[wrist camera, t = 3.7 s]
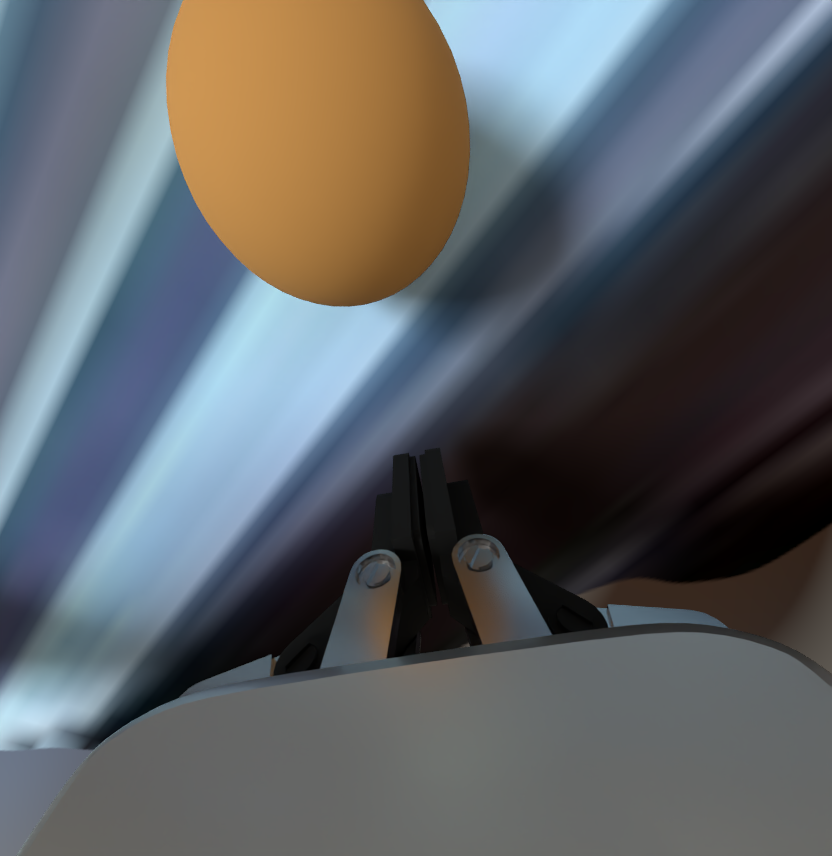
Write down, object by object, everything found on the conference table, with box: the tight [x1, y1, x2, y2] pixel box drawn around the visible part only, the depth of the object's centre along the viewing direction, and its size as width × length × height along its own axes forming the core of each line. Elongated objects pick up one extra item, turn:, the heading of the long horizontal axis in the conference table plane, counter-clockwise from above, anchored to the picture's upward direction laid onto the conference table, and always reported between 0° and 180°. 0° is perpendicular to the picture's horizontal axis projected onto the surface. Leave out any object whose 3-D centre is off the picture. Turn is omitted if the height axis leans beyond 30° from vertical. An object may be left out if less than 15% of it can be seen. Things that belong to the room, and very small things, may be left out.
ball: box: [166, 0, 470, 306], centre depth 8 cm, size 6×6×6 cm
